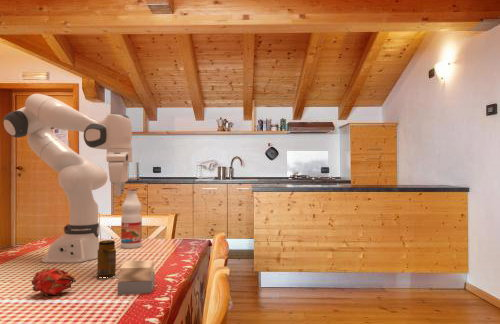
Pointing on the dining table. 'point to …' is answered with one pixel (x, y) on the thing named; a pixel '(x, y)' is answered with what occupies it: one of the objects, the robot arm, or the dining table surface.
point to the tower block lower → (136, 286)
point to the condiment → (106, 260)
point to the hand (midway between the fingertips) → (119, 194)
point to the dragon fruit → (52, 281)
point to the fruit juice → (131, 221)
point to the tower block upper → (137, 271)
